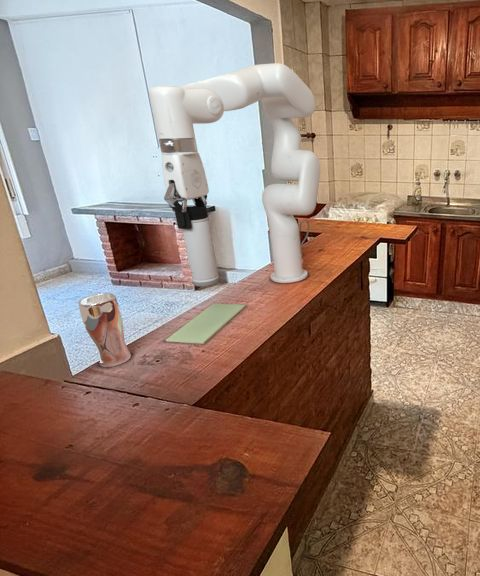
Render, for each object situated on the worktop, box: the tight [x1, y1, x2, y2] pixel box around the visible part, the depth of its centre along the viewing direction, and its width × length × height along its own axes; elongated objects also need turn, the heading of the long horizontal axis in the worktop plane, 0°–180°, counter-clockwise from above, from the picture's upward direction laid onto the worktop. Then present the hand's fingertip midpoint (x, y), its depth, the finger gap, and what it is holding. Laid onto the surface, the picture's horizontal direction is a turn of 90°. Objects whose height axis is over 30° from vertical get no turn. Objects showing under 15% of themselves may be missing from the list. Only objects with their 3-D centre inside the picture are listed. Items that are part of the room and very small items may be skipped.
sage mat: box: [165, 302, 247, 345], centre depth 106 cm, size 22×10×1 cm, turn 172°
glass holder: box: [294, 217, 310, 258], centre depth 160 cm, size 9×14×15 cm, turn 139°
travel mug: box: [181, 205, 220, 288], centre depth 98 cm, size 6×7×20 cm
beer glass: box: [77, 292, 132, 368], centre depth 87 cm, size 7×7×15 cm
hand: (194, 224), depth 97 cm, fingers closed on travel mug, 6 cm apart
